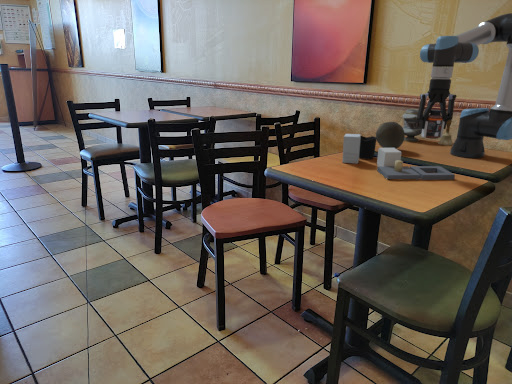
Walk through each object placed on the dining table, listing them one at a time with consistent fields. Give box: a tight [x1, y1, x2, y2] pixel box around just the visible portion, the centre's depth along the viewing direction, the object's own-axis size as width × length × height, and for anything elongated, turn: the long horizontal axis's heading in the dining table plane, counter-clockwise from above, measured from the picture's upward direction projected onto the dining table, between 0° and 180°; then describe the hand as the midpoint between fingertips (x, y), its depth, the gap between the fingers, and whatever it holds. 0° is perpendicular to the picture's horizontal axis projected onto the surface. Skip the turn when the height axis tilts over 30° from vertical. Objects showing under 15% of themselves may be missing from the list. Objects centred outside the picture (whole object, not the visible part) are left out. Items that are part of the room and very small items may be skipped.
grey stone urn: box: [402, 108, 422, 143], centre depth 220 cm, size 12×12×18 cm
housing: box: [376, 147, 402, 167], centre depth 165 cm, size 9×7×8 cm
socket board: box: [409, 165, 456, 181], centre depth 155 cm, size 13×13×2 cm
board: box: [376, 160, 421, 181], centre depth 154 cm, size 13×13×6 cm
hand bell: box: [437, 119, 454, 146], centre depth 210 cm, size 8×8×16 cm
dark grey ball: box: [375, 121, 406, 150], centre depth 196 cm, size 14×14×15 cm
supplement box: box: [342, 133, 362, 165], centre depth 175 cm, size 7×7×13 cm
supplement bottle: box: [424, 109, 443, 140], centre depth 152 cm, size 6×6×11 cm
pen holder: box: [359, 135, 377, 160], centre depth 183 cm, size 9×9×10 cm
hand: (431, 136), depth 153 cm, fingers closed on supplement bottle, 6 cm apart
